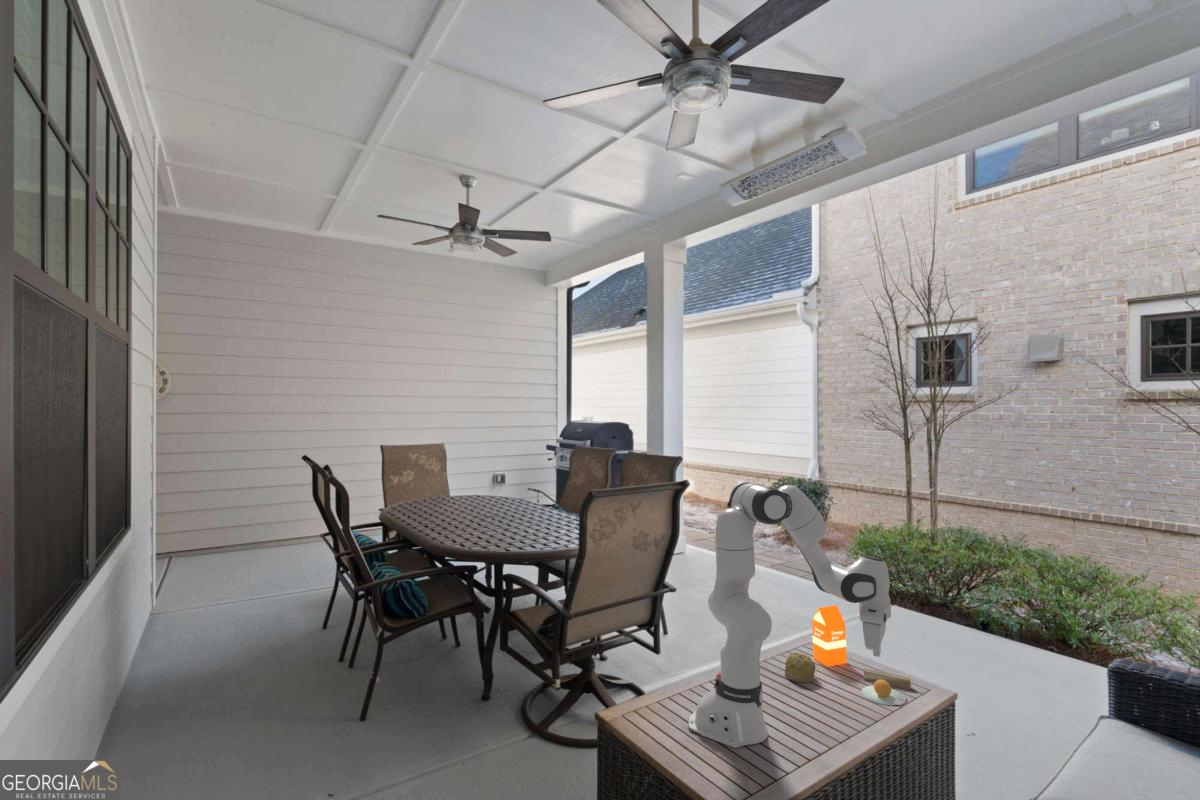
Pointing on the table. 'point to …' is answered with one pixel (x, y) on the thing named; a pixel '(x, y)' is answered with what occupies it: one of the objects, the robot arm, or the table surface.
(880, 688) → the ball
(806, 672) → the rock
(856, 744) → the table surface
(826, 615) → the orange juice
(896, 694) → the disc
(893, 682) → the bar
